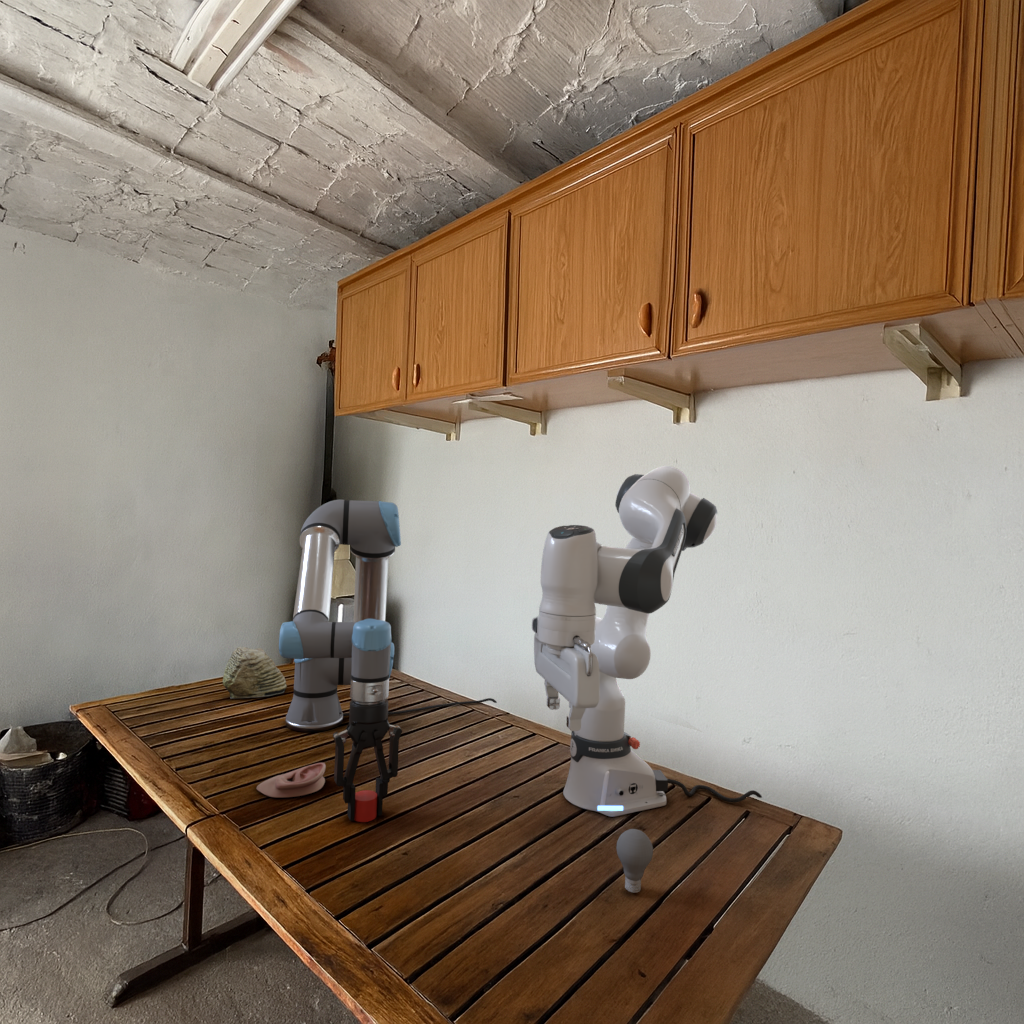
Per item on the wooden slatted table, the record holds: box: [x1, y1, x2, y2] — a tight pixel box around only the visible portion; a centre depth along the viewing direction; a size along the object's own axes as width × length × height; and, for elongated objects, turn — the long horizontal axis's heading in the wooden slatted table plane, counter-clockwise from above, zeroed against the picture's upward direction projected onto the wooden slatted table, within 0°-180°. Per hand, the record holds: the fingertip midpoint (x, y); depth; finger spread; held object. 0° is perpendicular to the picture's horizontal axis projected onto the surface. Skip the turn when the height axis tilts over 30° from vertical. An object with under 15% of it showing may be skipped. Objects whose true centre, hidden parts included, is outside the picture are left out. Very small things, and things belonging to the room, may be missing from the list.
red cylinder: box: [354, 789, 378, 823], centre depth 127 cm, size 5×5×4 cm
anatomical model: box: [256, 762, 327, 799], centre depth 137 cm, size 13×4×12 cm
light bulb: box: [615, 828, 654, 894], centre depth 106 cm, size 6×6×10 cm
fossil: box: [222, 646, 288, 699], centre depth 198 cm, size 9×18×15 cm, turn 132°
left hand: (364, 814), depth 126 cm, fingers open, 5 cm apart
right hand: (562, 718), depth 99 cm, fingers open, 8 cm apart
